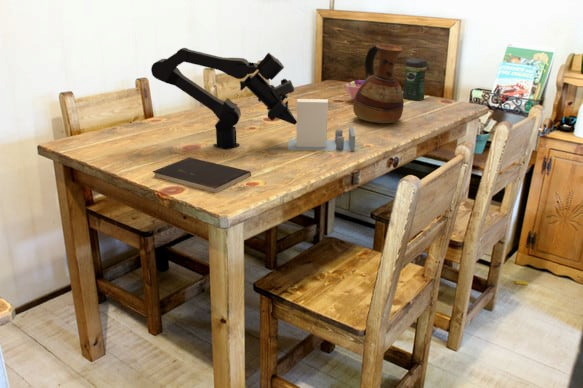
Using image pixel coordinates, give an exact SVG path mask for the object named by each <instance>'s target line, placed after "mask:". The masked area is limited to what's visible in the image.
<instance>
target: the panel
mask: <svg viewBox="0 0 583 388" xmlns="http://www.w3.org/2000/svg"><path fill="white" fill-rule="evenodd" d="M296 101H297V102H296V121H297V123H296V139H295V140H296V146H297V147H327V140H328V119H329V118H328V116H329V114H328V113H329V111H328V110H329V99H327V98H326V99H322V98H318V99H317V98H297V99H296Z"/></svg>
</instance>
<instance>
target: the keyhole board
mask: <svg viewBox="0 0 583 388" xmlns="http://www.w3.org/2000/svg"><path fill="white" fill-rule="evenodd" d="M334 132H335V135H334V140H333V139H330V140H329V139H327V147H297V146H296V140H297V139H290V138H289V140H288V147H287V150H288V151H318V152H319V151H321V152H324V151H326V152H327V151H329V152H331V151H333V152H335V151H336V152H356V148H355V147H356V134H355V130H354V127H353V126H348V140H345V136H343V129H335V131H334Z"/></svg>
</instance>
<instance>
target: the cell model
mask: <svg viewBox="0 0 583 388" xmlns="http://www.w3.org/2000/svg"><path fill="white" fill-rule="evenodd" d="M365 80H366V79H365ZM365 80H364V79H363V80H362V79H360V80H359V79H355V80H353V81H349V82H347V83H345V90H346V93H347V94H348V95H349V97H350V98H351V99H353V100H354V99H355V95H356V93H357V91H358V89H359V88H360V86H361V85H362V83H363V82H364V81H365Z"/></svg>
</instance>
